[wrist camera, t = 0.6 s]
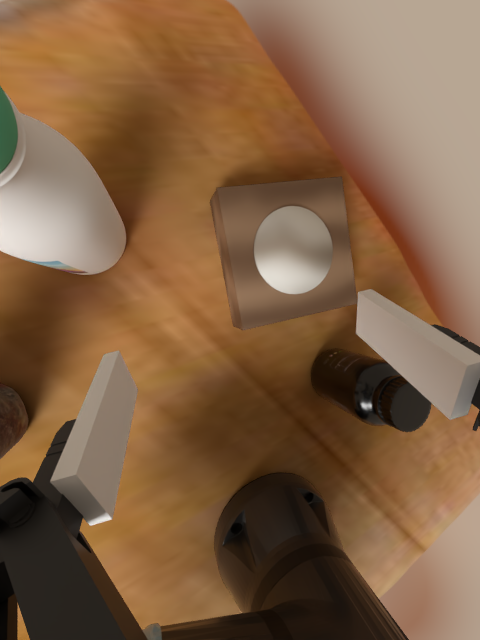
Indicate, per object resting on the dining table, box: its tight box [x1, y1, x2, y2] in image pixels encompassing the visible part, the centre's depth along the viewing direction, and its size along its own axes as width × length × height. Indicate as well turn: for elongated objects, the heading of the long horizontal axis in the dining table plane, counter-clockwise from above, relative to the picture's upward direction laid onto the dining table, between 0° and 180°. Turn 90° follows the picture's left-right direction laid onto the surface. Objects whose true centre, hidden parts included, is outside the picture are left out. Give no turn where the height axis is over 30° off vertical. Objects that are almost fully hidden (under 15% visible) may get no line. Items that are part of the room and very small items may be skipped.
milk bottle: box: [0, 86, 126, 275], centre depth 17 cm, size 8×8×20 cm
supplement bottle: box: [311, 349, 431, 432], centre depth 30 cm, size 7×7×12 cm
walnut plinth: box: [210, 177, 357, 330], centre depth 30 cm, size 14×14×4 cm
